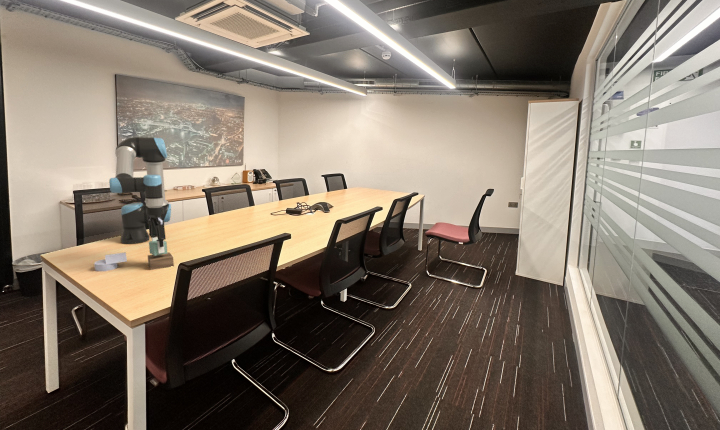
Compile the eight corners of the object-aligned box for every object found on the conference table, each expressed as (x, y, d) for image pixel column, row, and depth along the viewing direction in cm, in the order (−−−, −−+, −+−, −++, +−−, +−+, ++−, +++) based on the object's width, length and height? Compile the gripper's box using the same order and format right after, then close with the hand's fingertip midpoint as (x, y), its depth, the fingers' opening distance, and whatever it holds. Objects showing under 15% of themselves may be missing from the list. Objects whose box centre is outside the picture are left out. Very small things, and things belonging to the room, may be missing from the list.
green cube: (149, 253, 179) (148, 241, 177) (162, 250, 183) (161, 239, 182) (154, 255, 175) (153, 244, 174) (167, 253, 179) (166, 241, 178)
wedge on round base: (126, 262, 183) (95, 267, 175) (125, 250, 181) (93, 254, 174) (127, 267, 176) (95, 272, 168) (126, 254, 174) (93, 259, 167)
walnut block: (148, 264, 181) (147, 255, 180) (170, 261, 187) (169, 252, 186) (151, 270, 174) (150, 260, 173) (173, 266, 179) (173, 257, 179)
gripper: (138, 204, 177) (143, 249, 182) (154, 210, 166) (158, 257, 170) (155, 203, 183) (158, 246, 188) (171, 208, 171) (174, 253, 176)
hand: (158, 251), depth 179 cm, fingers closed on green cube, 6 cm apart
